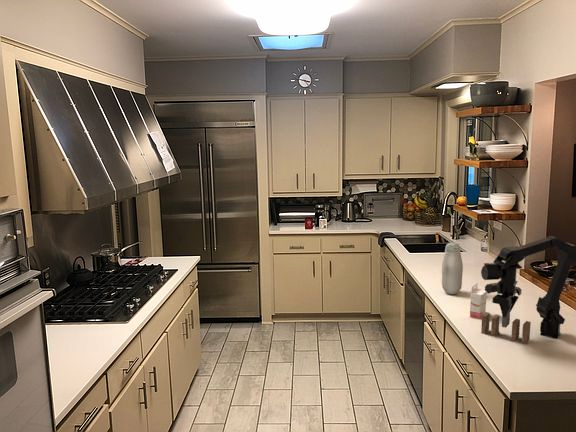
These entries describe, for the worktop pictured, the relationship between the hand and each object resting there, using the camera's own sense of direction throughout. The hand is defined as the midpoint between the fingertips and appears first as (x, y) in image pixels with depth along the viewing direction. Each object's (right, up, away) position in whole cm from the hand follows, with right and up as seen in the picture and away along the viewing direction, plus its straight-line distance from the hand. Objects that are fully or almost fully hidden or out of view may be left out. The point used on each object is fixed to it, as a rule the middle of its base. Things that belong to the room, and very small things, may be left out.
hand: (506, 315), depth 191 cm
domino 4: (+6, -10, -4) cm, 12 cm away
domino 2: (-3, -9, +4) cm, 10 cm away
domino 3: (+3, -10, -1) cm, 10 cm away
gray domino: (0, -4, +1) cm, 5 cm away
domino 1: (-6, -9, +7) cm, 12 cm away
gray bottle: (-3, -1, +57) cm, 57 cm away
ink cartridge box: (-1, -6, +25) cm, 26 cm away
